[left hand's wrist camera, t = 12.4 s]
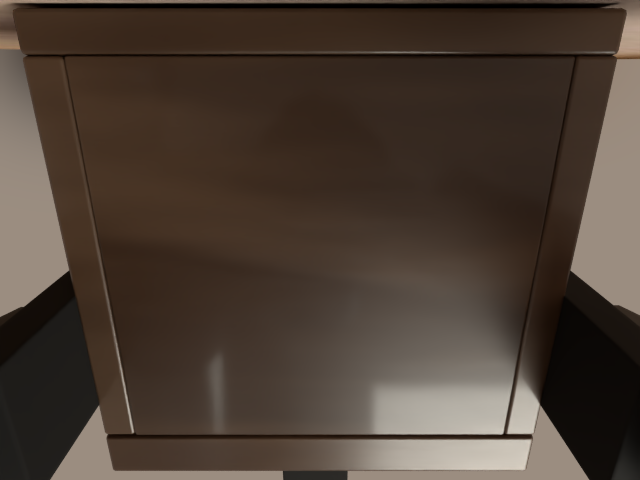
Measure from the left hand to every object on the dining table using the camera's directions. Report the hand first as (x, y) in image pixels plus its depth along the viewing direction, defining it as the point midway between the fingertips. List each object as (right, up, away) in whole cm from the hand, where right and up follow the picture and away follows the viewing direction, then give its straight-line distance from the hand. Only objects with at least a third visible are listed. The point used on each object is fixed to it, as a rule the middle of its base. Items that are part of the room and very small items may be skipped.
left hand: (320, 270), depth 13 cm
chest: (0, +7, +1) cm, 7 cm away
